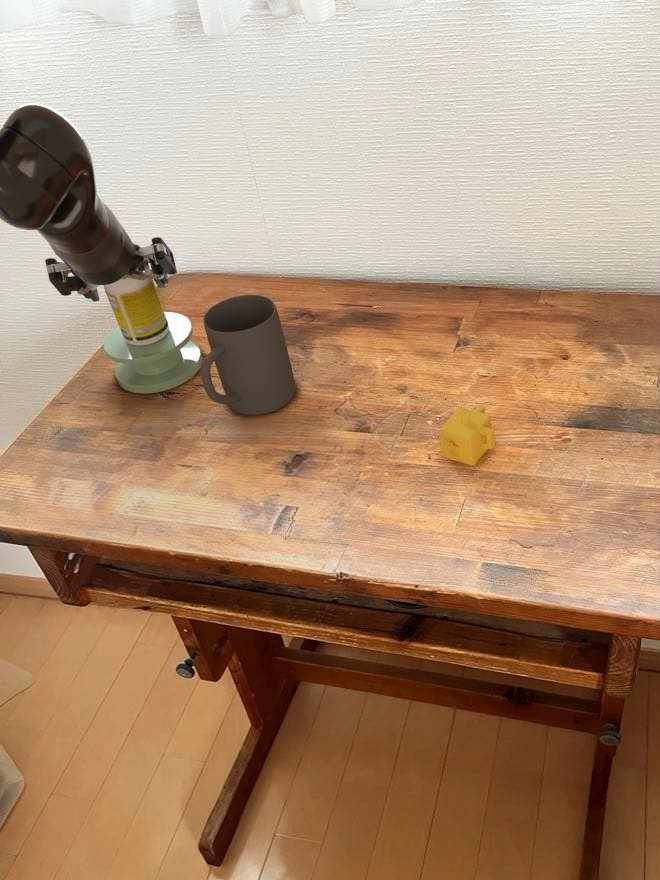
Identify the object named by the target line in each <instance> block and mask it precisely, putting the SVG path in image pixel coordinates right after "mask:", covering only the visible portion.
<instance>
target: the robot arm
mask: <svg viewBox="0 0 660 880" xmlns="http://www.w3.org/2000/svg"><path fill="white" fill-rule="evenodd" d="M97 190H98V189H97V182H96V176H95V170H94V163H93V158H92V155H91V152H90V150H89V148H88V146H87V143H86V142H85V140H84V137H82V135H81V133H80V131H79V130H78V129H77V128H76V127H75V125H74V124H73V123H72V122H71V121H70V120H69V119H68V117H65V116H64V115H63V114H62V113H60V112H59V111H57V110H55V109H54V108H52V107H50V106H47V105H44V104H38V103H28V104H27V103H26V104H22V105H21V106H19V107H17V108H16V109H15V110H14V111H12V112H11V114H10V115H9V116H8V118H7V119H6V121H5V122H4V123H3V125H2V127H1V128H0V220H1V221H3V222H4V223H6V224H7V225H9V226H11V227H13V228H16V229H19V230H25V231H37V232H38V233H39V234H40V235H41V237H43V238H44V240H45V241H46V242H47V243H48V244H49V246H50V248H51V249H52V251H53V253H54V254H55V255H56V256H57V257H58V258H59V259H60V260H61V261H58V260H57V259H56V258H53V257H50V258H49V257H48V258H46V259H44V262H45V267H46V271H47V275H48V279H49V283H50V284H52V286H53V288H55V290H57V292H58V293H59V294H60V295H61V296H64V297H67V296H71V295H72V294H73V293H72V292H77V295H82V296H83V297H84V298H85V299H87V300H91V301H92V302H99V301H100V295H99V291H98V287H99V286H103V285H108V284H112V283H114V282H117V281H118V280H120V279H126V278H132V279H137V280H145V279H147V278H152V279H153V282H154V283H155V285H157V286H158V288H159V289H163V288H166V284H169V277H168V276H174V275H176V274H178V271H177V266H176V260H175V257H174V253H173V251H172V250H171V249H170V248H169V246H168V244H167V243H166V242H165V240H164V239H163V238H162V237H161V236H160V237H159V236H157V237H156V236H155V237H152V238H151V243H150V245H147V246H143V247H141V246H140V245H138V244H136V243H133V241H132V239H131V237H130V236H129V234H128V233H127V232H126V231H127V230H125V228H124V227H123V226H122V224H121V223H120V221H119V220H118V218H117V217H116V215H115V213H114V212H113V211H112V209H111V208H110V207H109V206H108V205H106V203H105V202H104V201H102V199H101V198H100V196H99V195H98V192H97ZM137 268H138V271H136V269H137ZM69 274H72V276H71V275H70V276H69Z"/></svg>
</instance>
